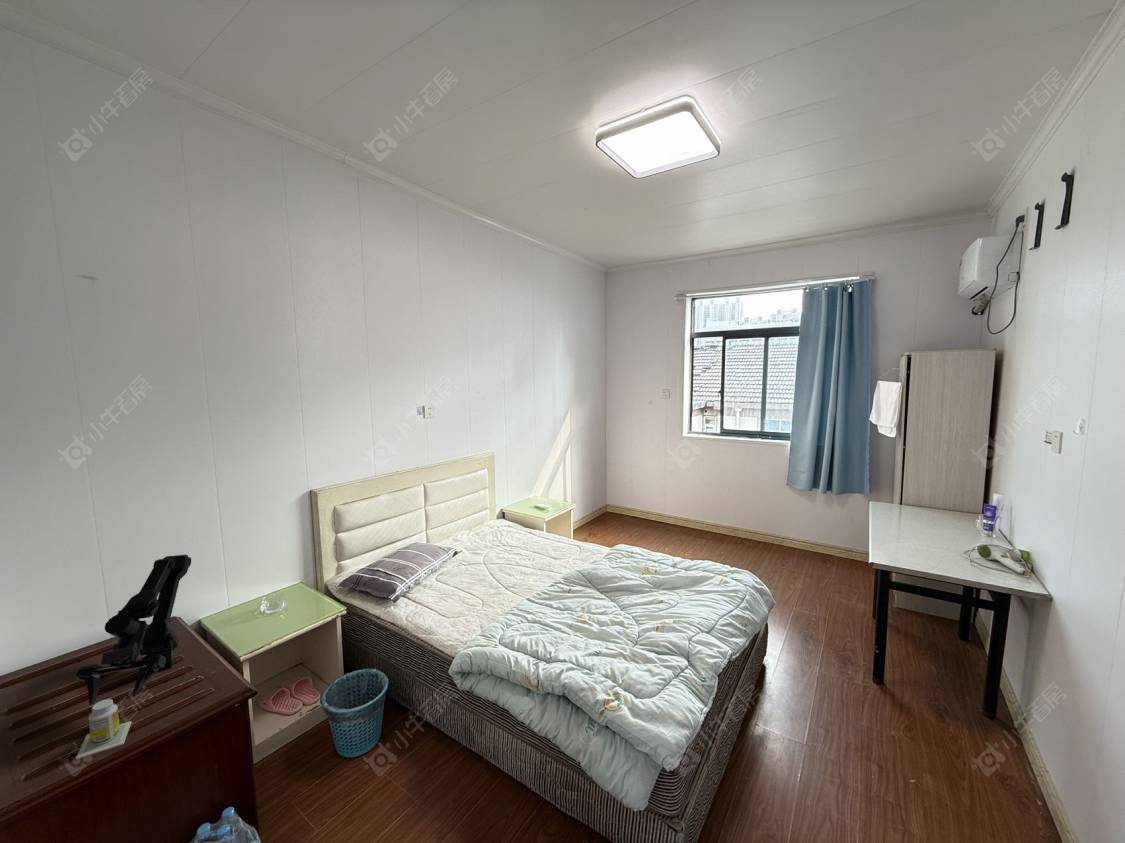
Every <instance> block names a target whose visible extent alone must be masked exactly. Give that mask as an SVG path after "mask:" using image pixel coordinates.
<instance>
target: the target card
mask: <svg viewBox="0 0 1125 843" xmlns="http://www.w3.org/2000/svg"><path fill="white" fill-rule="evenodd" d="M131 724H132V720H130V721H126V722H123V723H119V728H120V731H119V733H118V735H117V736H116V737H115V738H113V739H112V740H110V741H108V742H106V743H103V744H99V745H94V744H92V743H91V737H90V733H87V734H86V736H85V738H84V740H83V743H82V744H81V746H80V749H79V751H78V753H77V755H76V757H75V760H79V759H83V758H85V757H89V756H92V755H95V754H98V753H101V752H104V751H107V750H111V749H113V748H117V747H119V746H123V745H124V744H125V742H126V738H127V736H128V734H129V732H130V731H129V730H130V728H131Z"/></svg>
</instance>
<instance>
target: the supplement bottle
mask: <svg viewBox="0 0 1125 843" xmlns="http://www.w3.org/2000/svg"><path fill="white" fill-rule="evenodd" d="M118 708H119V707H118V705H117V704H116V703H114V701H113V699H111V698H107V699H103V700H100V701H98V702H96V703H94V704H93V705H92V708H91V710H92V711H91V713H89V715H88V725H89V726H88V727H89V734H90V737H91V743H92V744H94V745H99V744H103V743H106V742H108V741H110V740H112V739H113V738H115V737H116V736H117V735H118V733H119V731H120V728H119V725H120V721H119V720H120V719H119V709H118Z"/></svg>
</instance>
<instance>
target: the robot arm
mask: <svg viewBox="0 0 1125 843" xmlns="http://www.w3.org/2000/svg"><path fill="white" fill-rule="evenodd" d="M191 564H192V558H191V557H189V556H188V554H176V555H166V556H164V557H163V558H158V559H156V560H155V561H154V562H153V568H152V570H151V572H150V573H149V575H148V577H147V578H146V580H145V581H144V583H143V585H142V587H141V589H140V591H139V592H138V593H136V594H134V595H133V596H131V597H130V599H129V600H128V601H127V602H126V604H125V605H124V606H123V607H122V609H121V610H118V611H117V614H115V615H113V616H111V618H109V619H108V621H106V623H105V624H104V631H105V632H106V633H107V634H109V635H111V636H113V637H115V638H116V639H118V640H117V643H116V644H114V645H113V647H112V649H111V650H108V651H105V652H103V653H102V656H101V662H100V665H99V664H90V665H85V666H81V667H79V668H78V669H77V670H76V672H75V674H74V677H73V678H74V679H77V680H79V681H81V682H83V683H85V684H86V686H87V688H86V689H87V692H88V694H87V695H88V702H89V705H90V706H94V705H95V701H96V699H97V697H98V694H99V691H100V688H101V685H102V682H103V679H102V678H101V677H102V676H104V674H112V673H115V672H116V673H117V672H122V671H129V670H134V669H138V676H137V679H136V682H135V684H134V688H133V690H132V695H131V696H132V697H133V698H135V697H136V696H137V695H138V693H139V692H141V691H140V690H141V689H142V688H143V686H144V685H145V684H146V682H147V681H148V680H149V679H150V678H151V677H152V676H153V675H154V673H157V672H160V671H164V670H167V669H172V667H173V664H174V662H175V656H174V649H176V648H178V646H179V645H178V642H179V636H177V635H176V634H175V633H174V628H173V626H172V624H171V623H170V622H171V618H172V613H173V609H174V605H175V600H176V596H177V592H178V589H179V584H180V581H181V579H183V577H185V575H186V574H187V573H188V571H189V568H190V566H192V565H191ZM148 618H152V620H151V622H150V624H148V623H147V621H146V620H143V619H148ZM141 619H142V620H141ZM139 655H140V656H143V657H142V660H139V659H138V658H139ZM104 665H107V666H104Z"/></svg>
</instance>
